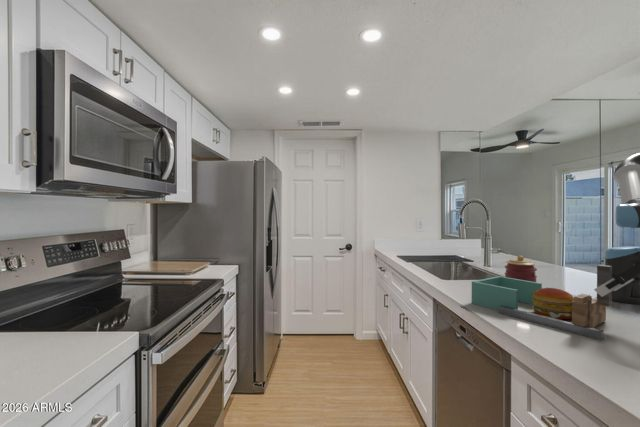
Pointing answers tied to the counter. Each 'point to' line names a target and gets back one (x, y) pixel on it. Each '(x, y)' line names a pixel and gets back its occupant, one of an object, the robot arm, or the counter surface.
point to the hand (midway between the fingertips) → (604, 290)
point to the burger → (553, 303)
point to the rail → (552, 322)
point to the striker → (593, 302)
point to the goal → (503, 292)
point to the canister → (521, 269)
